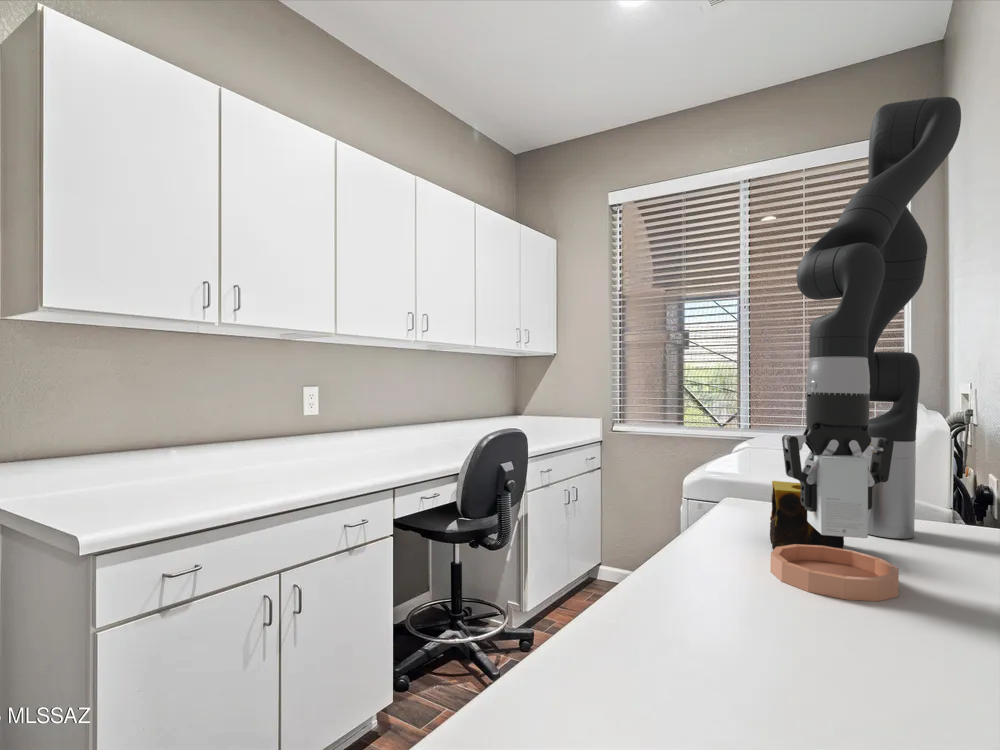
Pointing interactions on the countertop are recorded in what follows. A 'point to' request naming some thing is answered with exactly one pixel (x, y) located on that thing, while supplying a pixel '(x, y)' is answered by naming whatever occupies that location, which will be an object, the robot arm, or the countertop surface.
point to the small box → (841, 496)
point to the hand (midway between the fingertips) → (835, 511)
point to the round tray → (835, 572)
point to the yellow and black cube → (794, 520)
